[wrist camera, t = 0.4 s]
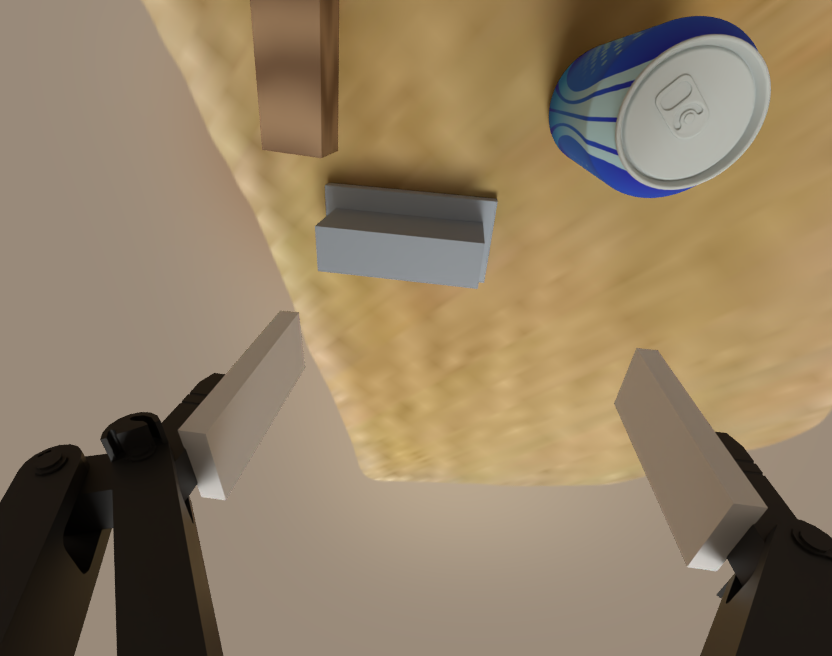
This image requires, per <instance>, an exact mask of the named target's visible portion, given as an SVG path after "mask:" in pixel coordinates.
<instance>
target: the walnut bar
mask: <svg viewBox="0 0 832 656" xmlns="http://www.w3.org/2000/svg"><path fill="white" fill-rule="evenodd" d="M250 6H251V18H252V30H253V42H254V54H255V66H256V79H257V91H258V103H259V115H260V127H261V140H262V150H267V151H274V152H282V153H289V154H296V155H303V156H310V157H318V158H323V157H325V156H327V155H329V154H332V153H334V152H336V151H338V74H339V0H250Z"/></svg>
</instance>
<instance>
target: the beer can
mask: <svg viewBox="0 0 832 656" xmlns="http://www.w3.org/2000/svg"><path fill="white" fill-rule="evenodd" d="M770 94H771V82H770V75H769V71H768V68H767V65H766V63H765V61H764V59H763V57H762V56H761V55H760V53H759V52H758V50H757V48H756V46H755V45H754V43H753V42H752V40H751V39H750V38H749V37H748V36H747V35H746V34H745V33H744V32H743V31H742V30H741V29H740V28H738V27H737V26H735V25H733V24H732V23H730V22H728V21H725V20H722V19H719V18H714V17H707V16H691V17H684V18H679V19H675V20H672V21H669V22H666V23H663V24H660V25H657V26H654V27H652V28H649V29H646V30H643V31H640V32H637V33H634V34H631V35H629V36H626V37H623V38H620V39H617V40H614V41H611V42H608V43H606V44H603V45H600V46H597V47H595V48H593V49H591V50H589V51H587V52H585V53H584V54H583V55H581V56H580V57H579V58H577V59H576V60H575V61H574V62H573V63H572V64H571V65H570V66H569V67H568V68H567V70H566V71H565V72H564V74H563V75H562V77H561V78H560V80H559V81H558V83H557V85H556V87H555V90H554V92H553V95H552V98H551V103H550V108H549V125H550V130H551V134H552V137H553V139H554V141H555V143H556V145H557V146H558V148H559V149H560V150H561V151H562V152H563V153H564V154H565V155H566V156H567V157H569V158H570V159H572V160H573V161H575V162H576V163H577V164H579V165H580V166H582V167H583V168H585V169H586V170H588V171H589V172H590V173H592V174H593V175H595V176H596V177H598V178H599V179H600V180H602V181H603V182H605V183H606V184H608V185H609V186H610V187H612V188H614V189H615V190H617V191H619V192H621V193H624V194H627V195H631V196H635V197H642V198H657V197H664V196H669V195H673V194H677V193H680V192H682V191H685V190H688V189H690V188H692V187H694V186H696V185H698V184H701V183H703V182H706V181H708V180H710V179H712V178H714V177H715V176H717V175H718V174H720V173H722V172H723V171H724V170H726V169H727V168H728V167H730V166H731V165H732V164H733V163H734V162H735V161H736V160H737V159H738V158H740V156H741V155H742V154H743V153H744V152H745V151H746V150H747V148H748V147H749V146H750V145H751V143H752V142H753V140H754V139H755V137H756V136H757V134H758V132H759V130H760V128H761V126H762V124H763V122H764V119H765V117H766V114H767V111H768V107H769V102H770Z"/></svg>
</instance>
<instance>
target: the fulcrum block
mask: <svg viewBox="0 0 832 656" xmlns="http://www.w3.org/2000/svg"><path fill="white" fill-rule="evenodd" d="M325 200H326V217H325V218H324V219H323V220H322V221H320V222H319V223H318V224H317V225H316V226H315V232H316V248H317V264H318V271H323V272H332V273H341V274H350V275H359V276H368V277H377V278H386V279H395V280H404V281H413V282H422V283H430V284H439V285H448V286H457V287H466V288H475V289H478V283H479V282H483V283H484V279H485V274H486V268H487V262H488V256H489V250H490V244H491V238H492V232H493V226H494V220H495V214H496V208H497V199H494V198H484V197H473V196H463V195H452V194H442V193H432V192H421V191H411V190H400V189H390V188H379V187H369V186H358V185H348V184H337V183H327V184H326V185H325Z"/></svg>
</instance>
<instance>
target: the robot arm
mask: <svg viewBox="0 0 832 656" xmlns="http://www.w3.org/2000/svg"><path fill="white" fill-rule="evenodd" d="M304 369H305V361H304V353H303V344H302V335H301V327H300V318H299V312H289V311H280V312H279V313H278V314H277V315H276V316H275V318H274V319H273V320H272V321H271V322H270V323H269V325H268V326H267V327H266V328H265V329H264V330H263V331H262V333H261V334H260V335H259V336H258V337H257V339H256V340H255V341H254V342H253V343H252V344H251V345H250V347H249V348H248V349H247V350H246V351H245V352H244V354H243V355H242V356H241V357H240V358H239V360H238V361H237V362H236V363H235V364H234V365H233V367H232V368H231V369H230V370H229V371H228V372H227V373H226V374H218V373H214V374H212V375H210V376H209V377H207V378H205V379H204V380H202V381H200V382H199V383H198V384H197V385H196V386H195V388H194V389H193V390H192V391H191V392H190V395H189V394H188V395H187V396H186V397H185V398H184V400H183V401H182V403H180V404H179V405H178V406H177V407H176V408H175V409H174V410H173V411H172V412H171V414H170V415H169V416H168V417H167V418H166V419H165V420H164V421H163V422H162V423H161V421H160V419H159V418H158V416H157V415H155V414H152V413H148V412H140V413H135V414H130V415H127V416H125V417H122V418H120V419H118V420H116V421H115V422H114V423H112V424H110V425H109V426H108V427H107V428H106V429H105V431H104V432H103V433H102V436H101V439H100V440H101V442H102V444H103V446H104V448H105V450H106V452H107V454H102V455H94V456H86V457H85V456H84V454H83V453H82V451H81V450H80V448H79V447H78V446H75V445H71V444H69V445H58V446H55V447H52V448H48V449H46V450H44V451H42V452H40V453H38V454H36V455H34V456H33V457H32V458H30V459H29V460H28V461H26V462H25V463H24V464H23V466H22V467H21V468H20V469H19V471H18V472H17V474H16V476H15V478H14V479H13V481H12V483H11V485H10V486H9V488H8V490H7V492H6V493H5V495H4V497H3V498H2V500H1V502H0V656H74V654H75V651H76V647H77V644H78V641H79V637H80V634H81V631H82V627H83V624H84V620H85V617H86V614H87V610H88V607H89V603H90V600H91V597H92V593H93V590H94V587H95V583H96V580H97V577H98V573H99V570H100V566H101V563H102V560H103V556H104V553H105V550H106V546H107V543H108V539H109V536H110V532H111V529H112V528H113V529H114V562H115V564H114V565H115V598H116V629H117V630H116V633H117V656H223V652H222V647H221V642H220V637H219V632H218V628H217V623H216V618H215V613H214V608H213V604H212V599H211V594H210V589H209V585H208V580H207V575H206V570H205V566H204V561H203V556H202V551H201V546H200V541H199V537H198V532H197V527H196V522H195V517H194V513H193V508H192V503H191V500H190V497H189V495H190V494H191V492H192V491H193V489H194V488H195V486H196V485H198V488H199V491H200V494H201V497H206V498H213V499H220V500H227V498H228V496H229V494H230V493H231V491H232V489H233V488H234V486H235V484H236V483H237V481H238V479H239V478H240V476H241V474H242V473H243V471H244V469H245V468H246V466H247V464H248V463H249V461H250V459H251V458H252V456H253V454H254V453H255V451H256V449H257V448H258V446H259V444H260V442H261V441H262V439H263V437H264V435H265V434H266V432H267V431H268V429H269V427H270V426H271V424H272V422H273V421H274V419H275V417H276V416H277V414H278V412H279V411H280V409H281V407H282V406H283V404H284V402H285V401H286V399H287V397H288V396H289V394H290V392H291V390H292V389H293V387H294V386H295V384H296V382H297V381H298V379H299V377H300V375H301V374H302V372H303V370H304ZM614 404H615V406H616V409H617V411H618V413H619V415H620V418H621V420H622V422H623V424H624V427H625V429H626V431H627V433H628V436H629V438H630V440H631V442H632V445H633V447H634V449H635V451H636V453H637V456H638V458H639V460H640V462H641V465H642V467H643V469H644V471H645V474H646V476H647V478H648V480H649V482H650V485H651V487H652V489H653V491H654V494H655V496H656V498H657V500H658V503H659V505H660V507H661V509H662V512H663V514H664V516H665V518H666V520H667V523H668V525H669V527H670V530H671V532H672V534H673V536H674V539H675V541H676V543H677V545H678V548H679V550H680V552H681V554H682V557H683V559H684V561H685V563H686V566H687V567H691V568H698V569H705V570H712V571H717V570H718V569H719V568H720V567H721V565H722V564H723V563H724V562H725V560H726V559H728V561H729V563H730V565H731V566H732V568H733V570H734V572H735V574H734V575H733V576H732V577H731V579H730V580H729V581H728V582H727V583H726V584H725V585H724V587H723V588H722V589H721V590H720V591H719V592H718V594H717V596H719V597H720V598H722V600H721V603H720V605H719V608H718V611H717V613H716V616H715V618H714V621H713V624H712V626H711V629H710V632H709V634H708V637H707V639H706V642H705V645H704V647H703V650H702V653H701V655H700V656H832V538H831V537H830V536H829V535H828V534H826V533H825V532H823V531H822V530H820V529H819V528H817V527H816V526H813V525H811V524H809V523H807V522H805V521H802V520H798V519H797V518H796V517H795V515H794V514H793V513H792V511H791V510H790V509H789V507H788V506H787V505H786V503H785V502H784V501H783V499H782V498H781V497H780V495H779V494H778V493H777V491H776V490H775V489H774V487H773V486H772V485H771V483H770V482H769V481H768V479H767V478H766V477H765V476H763V475H762V471H761V470H760V469H759V467H758V466H757V465H756V464H754V461H753V459H752V458H751V457H750V455H749V454H748V453H747V451H746V450H745V449H744V447H743V446H742V445H740V444H739V443H738V442H737V441H736V440H734V439H733V438H732V437H731V436H729V435H728V434H727V433H721V432H715V431H714V430H713V429H712V427H711V426H710V424H709V423H708V421H707V420H706V419H705V417H704V416H703V414H702V413H701V411H700V410H699V409H698V407H697V406H696V404H695V403H694V401H693V400H692V399H691V397H690V396H689V394H688V393H687V392H686V390H685V389H684V387H683V386H682V384H681V383H680V382H679V380H678V379H677V377H676V376H675V374H674V373H673V372H672V370H671V369H670V367H669V366H668V364H667V363H666V362H665V360H664V359H663V357H662V356H661V354H660V353H659V352H658V350H650V349H641V348H636V351H635V353H634V356H633V358H632V360H631V363H630V365H629V368H628V370H627V373H626V375H625V378H624V380H623V383H622V385H621V388H620V390H619V393H618V395H617V398H616V400H615V403H614Z"/></svg>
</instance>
